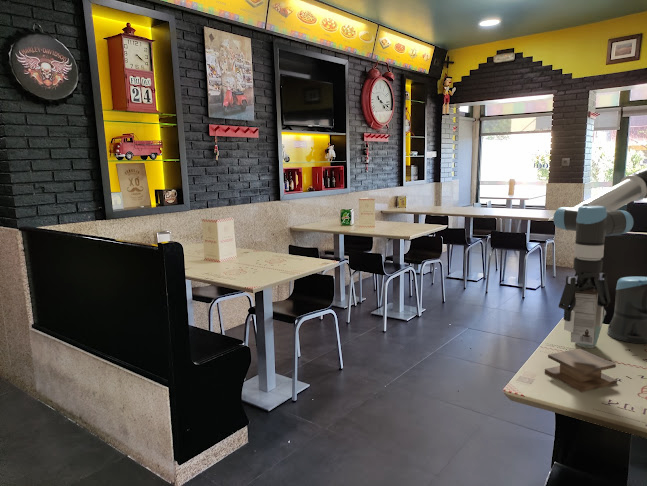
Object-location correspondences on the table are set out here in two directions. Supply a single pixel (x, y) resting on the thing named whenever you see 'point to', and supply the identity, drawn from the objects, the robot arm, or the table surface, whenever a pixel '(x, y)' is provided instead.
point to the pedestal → (581, 370)
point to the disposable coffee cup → (597, 332)
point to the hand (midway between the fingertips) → (583, 328)
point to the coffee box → (585, 316)
